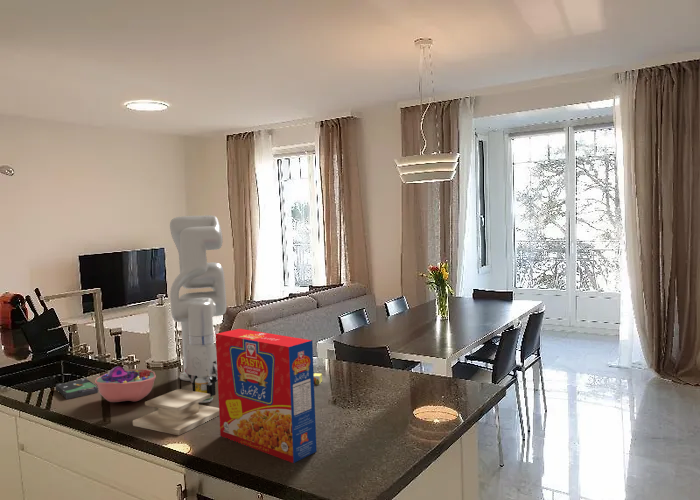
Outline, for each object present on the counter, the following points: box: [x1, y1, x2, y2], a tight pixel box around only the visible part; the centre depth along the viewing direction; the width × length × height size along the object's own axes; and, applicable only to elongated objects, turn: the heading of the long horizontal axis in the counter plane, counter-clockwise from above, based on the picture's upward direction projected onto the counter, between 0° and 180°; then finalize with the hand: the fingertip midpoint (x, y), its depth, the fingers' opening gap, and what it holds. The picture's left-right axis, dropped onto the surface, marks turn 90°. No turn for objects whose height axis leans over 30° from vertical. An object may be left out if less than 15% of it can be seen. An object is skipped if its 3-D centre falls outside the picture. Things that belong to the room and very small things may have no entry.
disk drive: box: [55, 377, 99, 400], centre depth 193 cm, size 10×3×15 cm
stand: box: [132, 388, 219, 436], centre depth 162 cm, size 18×18×6 cm
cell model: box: [94, 365, 157, 403], centre depth 181 cm, size 17×20×11 cm
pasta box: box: [214, 328, 318, 464], centre depth 142 cm, size 28×8×28 cm, turn 50°
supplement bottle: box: [195, 376, 214, 404], centre depth 178 cm, size 5×5×10 cm
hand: (204, 394), depth 179 cm, fingers closed on supplement bottle, 5 cm apart
